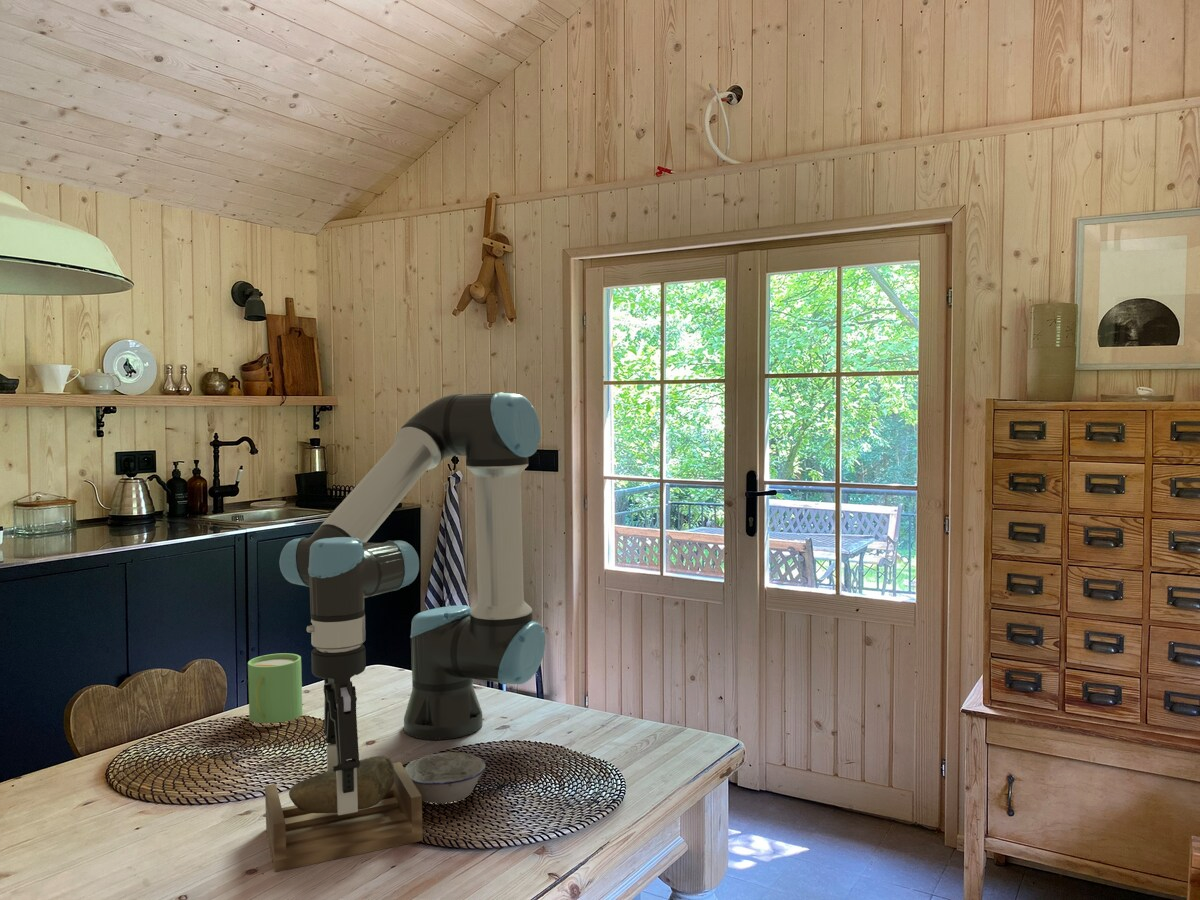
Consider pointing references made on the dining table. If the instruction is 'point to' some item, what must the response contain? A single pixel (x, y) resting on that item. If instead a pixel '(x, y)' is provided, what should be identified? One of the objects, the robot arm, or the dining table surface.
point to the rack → (343, 826)
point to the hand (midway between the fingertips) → (342, 799)
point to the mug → (275, 688)
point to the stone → (322, 788)
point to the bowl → (445, 775)
